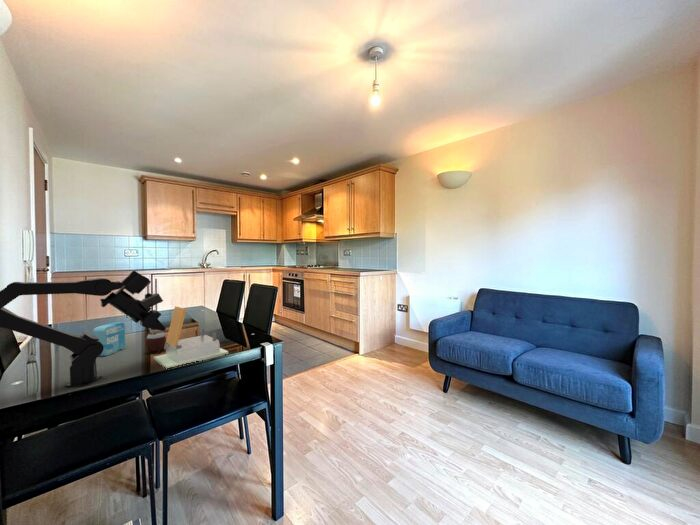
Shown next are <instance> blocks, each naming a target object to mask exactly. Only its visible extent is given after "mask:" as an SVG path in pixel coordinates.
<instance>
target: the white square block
mask: <svg viewBox="0 0 700 525" xmlns="http://www.w3.org/2000/svg"><path fill="white" fill-rule="evenodd" d="M199 332H200V335H197V336H192V337H188V338H187V337H186V338H181V339H179V341H178V345H177V346H176V347H174V346H172V345H170V344H169V343H167V342H165V354H166V355H167V356H169V357H170V358H172V359H173V360H174V361H176V362H177V363H181V362H185V361H189V360H193V359H197V358H201V357H205V356H209V355H213V354H217V353H220V348H221V347H220V346H221V345H220V340H219V339H217V333H216V332H213V333H212V336H209V335H208V334H205V330H204V328H203V327H201V328H200V329H199Z"/></svg>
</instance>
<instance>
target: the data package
mask: <svg viewBox="0 0 700 525" xmlns="http://www.w3.org/2000/svg"><path fill="white" fill-rule="evenodd" d="M125 328H126V326H125V322H122V321H120V322H110V323H106V324H103V325H99V326H97V327H94V329H93V335H92V336H97V338H98V339H99V341H100V342H101V343H102V344H103V347H104V348H103V352H102V353H101V354H100V355H99V356H98V357H107V355H108V356H110V355H112V354H111V353H113V352H115V351H117V352H119V351H118V350H120V349H122V348H124V349H125V347H126V333H125V332H126V331H125V330H126V329H125ZM122 350H123V349H122ZM120 351H121V350H120ZM115 353H116V352H115ZM109 354H110V355H109ZM113 354H114V353H113Z"/></svg>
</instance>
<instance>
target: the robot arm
mask: <svg viewBox="0 0 700 525" xmlns="http://www.w3.org/2000/svg"><path fill="white" fill-rule="evenodd" d="M151 283H152V281H151V280H150V279H149V278H148V277H146V276H144V275H142V274H141V273H139V272H137V271H136V270H132V271H131V272H130V273H129V274H128V275H127V276H126V277H125V278H123V280H121V281H119V280H117V281H111V280H110V279H108V278H104V277H95V278H89V279H83V280H77V281H43V282H42V281H34V282H32V281H31V282H25V281H24V282H23V281H13V282H11V283H9V284H7V285H6V287H4V288H3V289H1V290H0V329H6V330H9V331H13V332H16V333H20V334H22V335H25V336H29V337H32V338H35V339H39V340H41V341H45V342H47V343H51V344H53V345H57V346H59V347H63V348H65V349H66V350H69V351H70V352H72V354H70V355H69V361H70V363H71V365H70V366H69V382H68V383H66V384H65V385H64V387H65V388H69V387H72V388H73V387H84V386H89V385H91V384H93V383H95V382H97V381H98V380H100V379H101V378H102V375H99V376H98V375H97V371H98V370H97V358H98V357H100V356H99V355H100V354H101V353H102V352H103V348H104V347H103V344H102V343H101V342H100V341H99V339H98V338H97V336H93V335H90V334H89V333H87V332H85V331H82V332H81V334H80V335H79V334H71V333H69V332H66V331H64V330H63V331H62V330H60V329H57V328H54V327H51V326H49V325H46V324H43V323H40V322H37V321H34V320H31V319H28V318H26V317H22V316H19V315H18V314H16V313H14V312H12V311H11V310H10V309H7V308H6V307H5V306H7V305H8V304H10V303H11V302H13V301H14V300H15V299H17V298H18V297H21V296H34V295H35V296H39V295H63V294H64V295H65V294H67V295H68V294H69V295H70V294H77V295H78V294H79V295H87V296H97V297H98V296H99V297H103V296H104V298H100V299H99V300H100V306H101V307H102V308H105V307H106V306H107V305H108V304H109V305H110V306H112V307H113V308H115V309H116V310H118V311H119V312H121V313H122V314H124V315H125V316H127V317H128V318H130V320H131V321H133V322H135V323H136V324H138V323H139V325H140V326H141V327H143V328H144V329H146V330H147V329H148V330H149V328H151V330H157V331H160V332H165V331H166V330H167V328H166V326H164V325H163V323H162V322H161V321H160V320H159V318H160V317H161V315H162V313H161V312H159V311H158V310H156V309H153V310H152V307H154V306H156V305H157V304H161V303H163V302H164V300H163V298H162V296H161V295H160V293H157V292H156V293H153V294H152V293H150V292H147V293H145V294H144V298H143V299H141V300H140V299H137V298H135V297H133V296H132V295H135V294H137V295H139V294H140V293H141V292H143V290H144V289H145V288H147V287H148V285H150V284H151ZM112 291H116V292H112ZM126 291H127V292H128V293H127V292H126ZM129 293H130V294H129ZM105 296H106V297H105Z"/></svg>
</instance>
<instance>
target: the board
mask: <svg viewBox="0 0 700 525" xmlns="http://www.w3.org/2000/svg"><path fill="white" fill-rule="evenodd" d="M225 354H226V355H229V351H228V350H226V349H223V348H222V347H220V353H217V354H213V355H209V356H205V357H201V358H197V359H193V360H189V361H185V362H181V363H177V362H176V361H174V360H173V359H172V358H170V357H169V356H167V355H166V353H164V354H160V355H156V356H155V355H154V356H153V360H154V361H155V362H156V363H158V364H159V365H160V366H161V365H162V366H161V367H162V368H164V367H165V368H166V369H167V368H170V367H175V366H178V365H182V364H186V363H191V362H195V363H197V362H196V361H199V362H203V361H206V360H210V359H213V358H218V357H223V356H225ZM202 360H203V361H202ZM191 364H192V363H191ZM165 368H164V369H165ZM175 368H176V367H175ZM166 369H165V370H166Z"/></svg>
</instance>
